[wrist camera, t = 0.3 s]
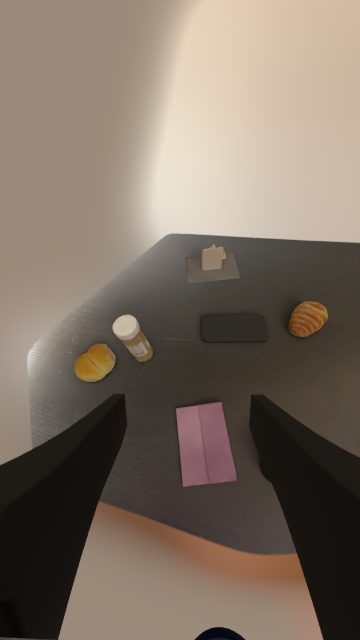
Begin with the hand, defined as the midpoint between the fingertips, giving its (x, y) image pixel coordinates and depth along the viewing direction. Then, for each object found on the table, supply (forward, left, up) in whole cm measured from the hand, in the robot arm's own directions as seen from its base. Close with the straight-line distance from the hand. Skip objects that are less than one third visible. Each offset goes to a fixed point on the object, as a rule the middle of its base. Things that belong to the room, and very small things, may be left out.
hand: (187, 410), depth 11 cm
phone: (+21, -12, -30) cm, 39 cm away
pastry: (+20, -29, -30) cm, 46 cm away
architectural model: (+43, -11, -30) cm, 54 cm away
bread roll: (+17, +21, -30) cm, 41 cm away
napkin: (-1, -1, -30) cm, 30 cm away
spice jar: (+18, +10, -30) cm, 37 cm away
